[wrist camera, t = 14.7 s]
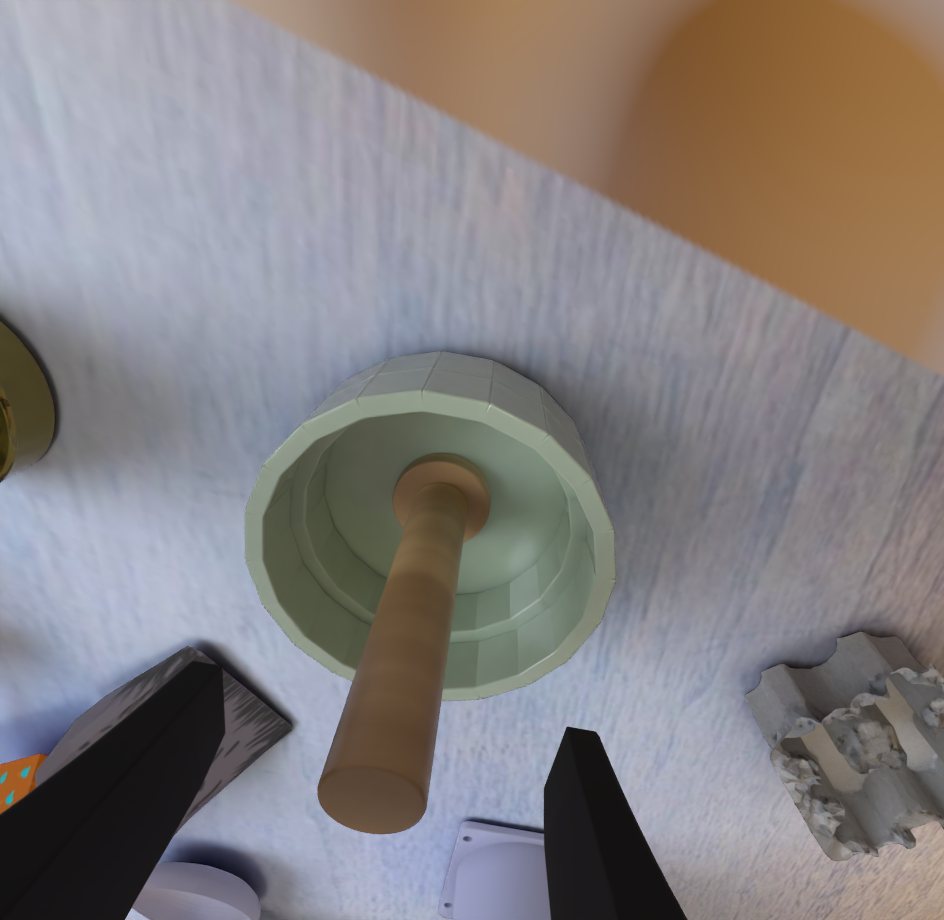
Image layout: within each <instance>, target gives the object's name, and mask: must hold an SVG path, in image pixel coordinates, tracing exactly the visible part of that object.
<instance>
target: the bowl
mask: <svg viewBox="0 0 944 920" xmlns="http://www.w3.org/2000/svg"><path fill="white" fill-rule="evenodd" d="M436 453H445V454H452V455H456V456H459V457H461V458H464V459H465V460H467V461H469V462H470V463H472V464H473V465H474V466H476V467H477V468H478V469H479V470H480V471H481V473H482V474H483V475H484V477H485V479H486V481H487V483H488V485H489V489H490V494H491V501H490V512H489V516H488V519H487V522H486V524H485V525H484V527H483V528H482V530H481V531H480V532H479V533H478V534H477V535H475V536H474V537H473V538H471V539H470V540H468V541H466V542H464V543H463V548H462V555H461V563H460V570H459V577H458V584H457V591H456V599H455V606H454V613H453V620H452V627H451V635H450V642H449V649H448V656H447V664H446V671H445V678H444V685H443V692H442V700H441V701H460V700H479V699H480V698H481V699H484V698H488V697H491V696H494V695H498V694H501V693H504V692H508V691H511V690H515V689H518V688H521V687H525V686H527V685H530V684H532V683H533V682H535V681H536V680H538V679H540V678H541V677H543V676H545V675H546V674H548V673H549V672H551V671H553V670H554V669H556V668H557V667H559V666H561V665H562V664H564V663H566V662H567V661H568V659H570V658H571V657H572V656H573V655H574V654H575V652H576V651H577V650H578V649H579V648H580V647H581V645H582V644H583V643H584V642H585V641H586V639H587V638H588V637H589V636H590V635H591V634H592V632H593V631H594V630H595V629H596V628H597V627H598V625H599V624H600V622H601V620H602V617H603V614H604V611H605V609H606V606H607V603H608V600H609V598H610V595H611V592H612V589H613V587H614V584H615V581H616V579H615V578H616V558H615V530H614V526H613V523H612V520H611V517H610V514H609V511H608V508H607V505H606V502H605V500H604V497H603V494H602V491H601V488H600V485H599V482H598V479H597V476H596V473H595V470H594V467H593V464H592V462H591V459H590V457H589V455H588V452H587V450H586V448H585V446H584V443H583V441H582V439H581V436H580V434H579V432H578V429H577V427H576V425H575V423H574V422H573V420H572V419H571V418H570V417H569V416H568V415H567V414H566V412H565V411H564V410H563V409H562V408H561V407H560V406H559V405H558V404H557V403H556V402H555V401H554V400H553V399H552V397H551V396H550V395H549V394H548V393H547V392H546V391H545V390H544V389H543V388H542V387H541V386H539V385H538V384H536V383H534V382H533V381H531V380H529V379H527V378H525V377H523V376H522V375H520V374H518V373H516V372H514V371H512V370H510V369H509V368H507V367H505V366H503V365H501V364H499V363H498V362H494V361H493V360H488V359H483V358H477V357H472V356H467V355H461V354H456V353H451V352H445V351H442V352H440V351H438V352H430V353H422V354H415V355H407V356H399V357H392V358H388V359H386V360H384V361H382V362H380V363H378V364H376V365H374V366H372V367H370V368H368V369H366V370H364V371H361V372H359V373H357V374H355V375H353V376H351V377H349V378H347V379H346V380H345V381H344V382H343V383H342V384H341V385H340V386H339V387H338V388H337V389H336V390H335V391H334V392H333V393H332V394H331V395H330V396H329V397H328V398H327V399H326V400H325V401H324V402H323V403H322V404H320V405H319V406H318V407H317V408H316V409H315V410H314V411H313V412H312V413H311V414H310V415H309V416H308V417H307V418H306V419H305V420H304V421H303V422H302V423H301V424H300V425H299V426H298V427H297V429H296V430H295V431H294V432H293V433H292V434H291V435H290V436H289V437H288V438H287V439H286V440H285V441H284V442H283V443H282V444H281V445H280V446H279V447H278V448H277V449H276V451H275V452H274V453H273V454H272V455H271V456H270V457H269V458H268V459H267V460H266V461H265V462H264V464H263V465H262V467H261V470H260V473H259V475H258V478H257V480H256V483H255V485H254V488H253V491H252V493H251V496H250V498H249V501H248V503H247V506H246V509H245V559H246V564H247V567H248V569H249V572H250V575H251V577H252V580H253V582H254V585H255V587H256V590H257V593H258V595H259V598H260V600H261V603H262V605H264V608H265V609H266V610H267V611H268V613H269V614H270V615H271V616H272V618H273V619H274V620H275V621H276V623H277V624H278V625H279V626H280V628H281V629H282V630H283V631H284V633H285V634H286V635H287V636H288V638H289V639H290V640H291V641H292V642H293V643H294V645H295V646H297V647H298V648H299V649H301V650H302V651H303V652H305V653H306V654H308V655H309V656H310V657H312V658H313V659H314V660H316V661H317V662H319V663H320V664H321V665H323V666H324V667H325V668H327V669H328V670H329V671H331V672H332V673H335V674H336V675H339V676H341V677H344V678H346V679H348V680H351V681H353V679H354V676H355V673H356V670H357V667H358V665H359V662H360V659H361V656H362V653H363V650H364V647H365V644H366V641H367V638H368V635H369V632H370V629H371V626H372V623H373V620H374V617H375V614H376V611H377V608H378V605H379V602H380V599H381V596H382V593H383V590H384V587H385V584H386V581H387V578H388V575H389V572H390V569H391V566H392V563H393V560H394V557H395V554H396V551H397V548H398V545H399V542H400V539H401V536H402V533H403V530H404V529H403V528H402V526H401V525H400V524H399V522H398V520H397V519H396V516H395V514H394V510H393V505H392V496H393V491H394V488H395V485H396V483H397V480H398V478H399V476H400V474H401V473H402V471H403V470H404V469H405V468H406V467H407V466H408V465H409V464H410V463H411V462H413V461H414V460H416V459H418V458H420V457H422V456H425V455H429V454H436Z"/></svg>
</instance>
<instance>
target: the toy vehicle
mask: <svg viewBox="0 0 944 920" xmlns="http://www.w3.org/2000/svg"><path fill="white" fill-rule="evenodd" d="M192 661H199V662H204V663H210V664H216V663H215V662H214V661H212V660H211V659H210V658H209V657H207V656H206V655H205V654H204V653H203V652H201V651H199V650H196V649H194V648H191V647H189V646H187V647H185V648H184V649H182V650H180V651H179V652H177V653H175V654H174V655H172V656H171V657H169V658H167V659H166V660H164V661H162V662H161V663H159V664H158V665H156V666H154V667H153V668H151V669H149V670H148V671H146V672H144V673H143V674H141V675H139V676H138V677H136V678H135V679H133V680H131V681H130V682H128V683H126V684H125V685H123V686H121V687H120V688H118V689H116V690H115V691H113V692H112V693H110V694H108V695H107V696H105V697H104V698H103V699H101V700H100V701H99V702H98V703H96V704H95V705H94V706H93V707H91V708H90V709H89V710H87V711H86V712H85V713H84V714H82V715H81V716H80V717H79V718H77V719H76V720H75V721H74V723H73V724H72V725H71V727H70V728H69V729H68V731H67V732H66V733H65V735H64V736H63V737H62V738H61V740H60V741H59V742H58V744H57V745H56V746H55V748H54V749H53V750H52V751H51V753H50V754H49V755H47V754H41V753H40V754H36V755H33V756H29V757H26V758H22V759H19V760H15V761H11V762H8V763H4V764H1V765H0V814H1V813H2V812H4V811H5V810H7V809H8V808H9V807H11V806H12V805H13V804H15V803H16V802H18V801H19V800H20V799H22V798H23V797H24V796H26V795H27V794H28V793H30V792H31V791H32V790H34V789H35V788H36V787H38V786H39V785H40V784H42V783H43V782H44V781H46V780H47V779H48V778H50V777H51V776H52V775H54V774H55V773H56V772H57V771H59V770H60V769H61V768H63V767H64V766H65V765H67V764H68V763H69V762H71V761H72V760H73V759H75V758H76V757H77V756H78V755H80V754H81V753H82V752H83V751H85V750H86V749H87V748H88V747H90V746H91V745H92V744H93V743H94V742H96V741H97V740H98V739H99V738H101V737H102V736H103V735H104V734H106V733H107V732H108V731H109V730H111V729H112V728H113V727H114V726H115V725H117V724H118V723H119V722H120V721H122V720H123V719H124V718H125V717H126V716H128V715H129V714H130V713H131V712H132V711H133V710H135V709H136V708H137V707H138V706H139V705H141V704H142V703H143V702H144V701H145V700H147V699H148V698H149V697H150V696H151V695H152V694H154V693H155V692H156V691H157V690H158V689H159V688H160V687H162V686H163V685H164V684H165V683H166V682H167V681H169V680H170V679H171V678H172V677H173V676H174V675H175V674H177V673H178V672H179V671H180V670H181V669H182V668H183V667H185V666H186V665H187V664H188V663H190V662H192ZM216 665H217V664H216ZM223 689H224V710H225V732H226V733H225V735H224V737H223V739H222V742H221V744H220V746H219V749H218V751H217V753H216V755H215V758H214V760H213V762H212V764H211V767H210V769H209V771H208V773H207V775H206V777H205V779H204V782H203V784H202V786H201V788H200V790H199V791H198V793H197V795H196V797H195V799H194V800H193V802H192V804H191V806H190V807H189V809H188V811H187V813H186V814H185V816H184V818H183V820H182V821H181V823H180V825H179V827H178V828H177V830H176V832H175V834H176V833H177V832H178V830H179V829H180V828H181V827H182V826H183V825H184V824H185V823H186V822H187V820H188V819H189V818H191V817H192V816H193V815H194V814H195V813H196V812H197V811H199V810H200V809H201V808H202V807H203V806H204V805H205V804H207V803H208V802H209V801H210V800H211V799H212V798H213V797H214V796H216V795H217V794H218V793H219V792H220V791H221V790H222V789H224V788H225V787H226V786H227V785H228V784H229V783H230V782H231V781H233V780H234V779H235V778H236V777H237V776H238V775H239V774H241V773H242V772H243V771H244V770H245V769H246V768H247V767H249V766H250V765H251V764H252V763H253V762H254V761H255V760H256V759H258V758H259V757H260V756H261V755H262V754H263V753H264V752H266V751H267V750H268V749H269V748H270V747H272V746H273V745H274V744H275V743H277V742H278V741H279V740H281V739H282V738H283V737H284V736H286V735H287V734H288V733H289V732H291V731H292V730H291V725H290V724H289V723H288V722H287V721H285V720H284V719H283V718H282V717H281V716H279V715H278V714H277V713H276V712H274V711H273V710H272V709H271V708H270V707H268V706H267V705H266V704H265V703H263V702H262V701H261V700H260V699H259V698H257V697H256V696H255V695H254V694H253V693H251V692H250V691H249V690H248V689H246V688H245V687H244V686H243V685H242V684H240V683H239V682H238V681H237V680H235V679H234V678H233V677H232V676H231V675H229V674H228V673H227V672H226V671H225V670H223ZM175 834H174V835H175ZM174 835H173V836H174Z"/></svg>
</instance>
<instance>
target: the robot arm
mask: <svg viewBox="0 0 944 920" xmlns="http://www.w3.org/2000/svg"><path fill="white" fill-rule="evenodd" d="M225 733H226V732H225V710H224V689H223V668H222V666H221V665H216V664H210V663H204V662H199V661H192V662H190V663H188V664H187V665H186V666H185V667H183V668H182V669H181V670H180V671H179V672H178V673H177V674H175V675H174V676H173V677H172V678H171V679H170V680H169V681H167V682H166V683H165V684H164V685H163V686H162V687H160V688H159V689H158V690H157V691H156V692H155V693H154V694H152V695H151V696H150V697H149V698H148V699H147V700H145V701H144V702H143V703H142V704H141V705H139V706H138V707H137V708H136V709H135V710H133V711H132V712H131V713H130V714H129V715H128V716H126V717H125V718H124V719H123V720H122V721H120V722H119V723H118V724H117V725H115V726H114V727H113V728H112V729H111V730H109V731H108V732H107V733H106V734H104V735H103V736H102V737H101V738H99V739H98V740H97V741H96V742H94V743H93V744H92V745H91V746H90V747H88V748H87V749H86V750H85V751H83V752H82V753H81V754H80V755H78V756H77V757H76V758H75V759H73V760H72V761H71V762H69V763H68V764H67V765H65V766H64V767H63V768H61V769H60V770H59V771H57V772H56V773H55V774H54V775H52V776H51V777H50V778H48V779H47V780H46V781H44V782H43V783H42V784H40V785H39V786H38V787H36V788H35V789H34V790H32V791H31V792H30V793H28V794H27V795H26V796H24V797H23V798H22V799H20V800H19V801H18V802H16V803H15V804H13V805H12V806H11V807H9V808H8V809H7V810H5V811H4V812H2V813H1V814H0V920H125V918H126V917H127V915H128V913H129V911H130V910H131V908H132V906H133V904H134V903H135V901H136V899H137V898H138V896H139V894H140V892H141V891H142V889H143V887H144V885H145V884H146V882H147V880H148V878H149V877H150V875H151V873H152V872H153V870H154V868H155V866H156V865H157V863H158V861H159V859H160V858H161V856H162V854H163V853H164V851H165V849H166V847H167V846H168V844H169V842H170V840H171V839H172V837H173V835H174V834H175V832H176V830H177V828H178V827H179V825H180V823H181V821H182V820H183V818H184V816H185V814H186V813H187V811H188V809H189V807H190V806H191V804H192V802H193V800H194V799H195V797H196V795H197V793H198V791H199V790H200V788H201V786H202V784H203V782H204V779H205V777H206V775H207V773H208V771H209V769H210V767H211V764H212V762H213V760H214V758H215V755H216V753H217V751H218V749H219V746H220V744H221V742H222V739H223V737H224V735H225ZM438 914H439V915H440V916H442V917H445V918H451V919H453V920H687V918H686V916H685V914H684V912H683V910H682V909H681V907H680V905H679V903H678V901H677V900H676V898H675V896H674V894H673V892H672V890H671V889H670V887H669V885H668V883H667V881H666V879H665V877H664V875H663V873H662V871H661V869H660V868H659V866H658V864H657V862H656V860H655V858H654V856H653V854H652V852H651V850H650V848H649V846H648V844H647V841H646V839H645V837H644V835H643V833H642V831H641V829H640V827H639V825H638V823H637V821H636V819H635V817H634V815H633V813H632V811H631V808H630V806H629V804H628V802H627V800H626V797H625V795H624V793H623V791H622V789H621V786H620V784H619V782H618V780H617V777H616V775H615V773H614V771H613V768H612V766H611V764H610V761H609V759H608V756H607V754H606V752H605V749H604V747H603V744H602V742H601V739H600V737H599V735H598V734H597V733H596V732H594V731H589V730H583V729H577V728H572V727H567V728H566V730H565V733H564V736H563V738H562V741H561V744H560V747H559V749H558V752H557V755H556V757H555V760H554V763H553V765H552V768H551V771H550V773H549V776H548V779H547V782H546V784H545V787H544V834H541V833H536V832H530V831H524V830H518V829H513V828H507V827H501V826H495V825H490V824H484V823H478V822H472V821H466V822H464V823H462V824H461V826H460V830H459V833H458V837H457V841H456V844H455V848H454V852H453V855H452V859H451V862H450V866H449V870H448V873H447V877H446V881H445V884H444V888H443V892H442V895H441V899H440V903H439V907H438Z"/></svg>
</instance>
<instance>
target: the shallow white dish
mask: <svg viewBox="0 0 944 920" xmlns="http://www.w3.org/2000/svg"><path fill="white" fill-rule="evenodd" d="M132 908H133V909H134V910H136V911H137V912H139V913H140V914H142V915H143V916H145V917H147V918H149V919H151V920H259V917H260V911H261V907H260V901H259V898H258V896H257V895H256V893H255V892H254V891H253V890H252V888H251V887H250V886H249V885H248V884H247V883H246V882H245V881H243V880H242V879H241V878H239V877H237V876H235V875H233V874H231V873H228V872H226V871H223V870H221V869H218V868H214V867H211V866H207V865H201V864H195V863H184V862H165V863H160V864H157V865H156V866H155V868H154V870H153V872H152V873H151V875H150V877H149V878H148V880H147V882H146V884H145V885H144V887H143V889H142V891H141V892H140V894H139V896H138V898H137V899H136V901H135V903H134V904H133V906H132Z"/></svg>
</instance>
